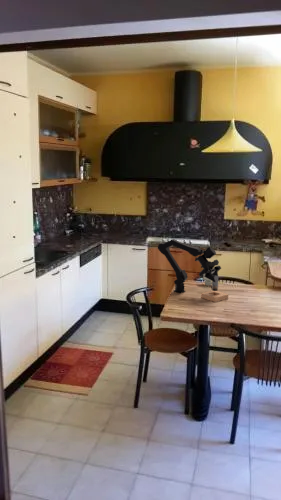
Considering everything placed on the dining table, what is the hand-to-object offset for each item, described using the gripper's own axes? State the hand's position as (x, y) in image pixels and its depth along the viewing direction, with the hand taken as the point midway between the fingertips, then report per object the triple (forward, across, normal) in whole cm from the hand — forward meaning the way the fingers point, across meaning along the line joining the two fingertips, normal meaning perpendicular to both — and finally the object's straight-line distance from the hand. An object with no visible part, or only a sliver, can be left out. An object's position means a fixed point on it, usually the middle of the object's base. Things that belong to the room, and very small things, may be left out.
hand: (216, 281), depth 275 cm
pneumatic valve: (-9, +24, +26) cm, 37 cm away
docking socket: (+8, 0, +10) cm, 12 cm away
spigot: (+4, 0, +6) cm, 7 cm away
